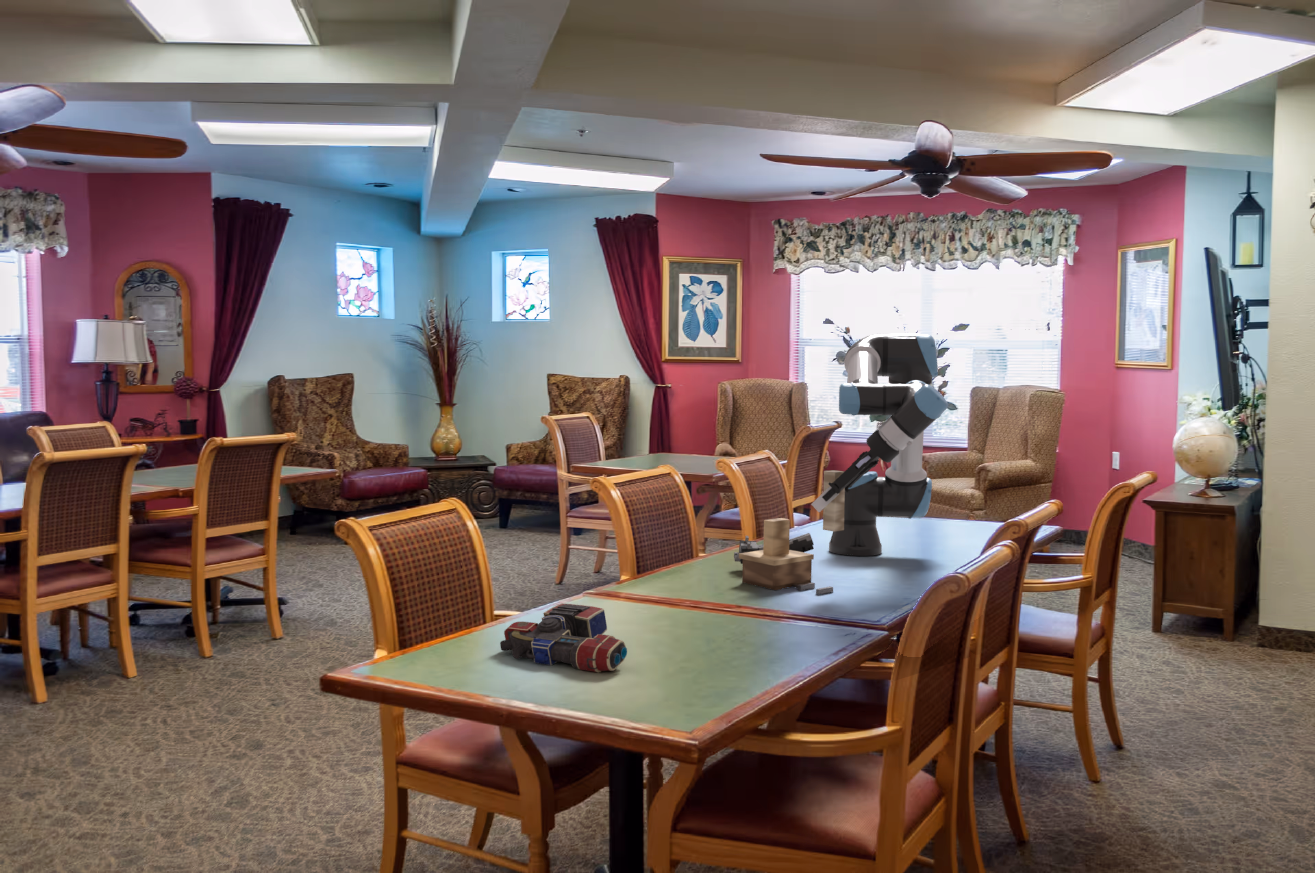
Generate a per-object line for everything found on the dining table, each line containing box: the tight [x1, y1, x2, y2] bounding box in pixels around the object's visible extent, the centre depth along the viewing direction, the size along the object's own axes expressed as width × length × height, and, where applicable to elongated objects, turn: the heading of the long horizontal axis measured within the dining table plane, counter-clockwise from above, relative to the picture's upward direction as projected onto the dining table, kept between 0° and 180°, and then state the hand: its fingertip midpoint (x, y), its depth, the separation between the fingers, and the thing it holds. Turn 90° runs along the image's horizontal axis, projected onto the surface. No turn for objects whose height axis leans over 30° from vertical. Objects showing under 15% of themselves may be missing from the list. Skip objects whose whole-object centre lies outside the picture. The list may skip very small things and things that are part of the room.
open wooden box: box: [741, 559, 813, 591], centre depth 244 cm, size 13×11×6 cm
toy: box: [733, 532, 815, 565], centre depth 259 cm, size 7×21×10 cm, turn 89°
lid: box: [739, 517, 815, 566], centre depth 244 cm, size 14×12×10 cm
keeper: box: [791, 581, 834, 596], centre depth 237 cm, size 5×10×1 cm, turn 40°
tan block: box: [822, 469, 846, 532], centre depth 235 cm, size 4×4×14 cm
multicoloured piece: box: [499, 602, 628, 673], centre depth 181 cm, size 8×25×20 cm
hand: (818, 506), depth 237 cm, fingers closed on tan block, 5 cm apart
